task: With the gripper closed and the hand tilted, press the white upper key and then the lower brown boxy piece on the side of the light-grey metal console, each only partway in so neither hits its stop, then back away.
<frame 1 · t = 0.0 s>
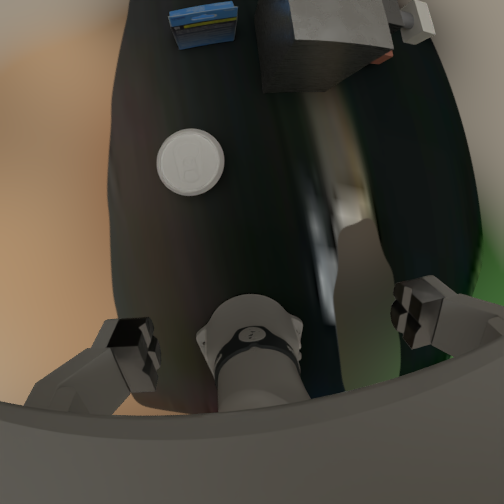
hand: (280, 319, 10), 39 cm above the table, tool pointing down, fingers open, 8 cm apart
label tape box: (205, 37, 39), on the table
console: (289, 52, 41), on the table
beverage can: (197, 163, 45), on the table
brown boxy piece: (367, 44, 36), point 6 cm above the table, slide at 0.0 cm
white key: (403, 19, 26), point 17 cm above the table, slide at 0.0 cm
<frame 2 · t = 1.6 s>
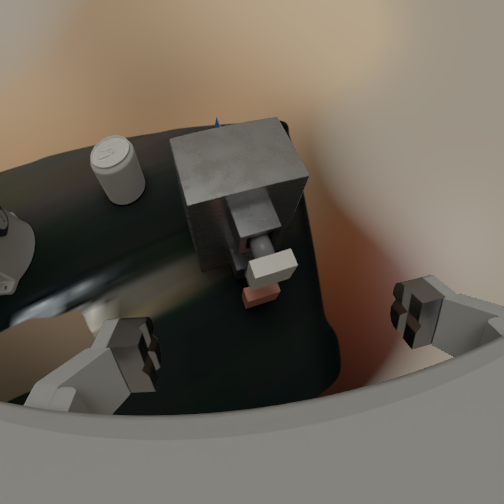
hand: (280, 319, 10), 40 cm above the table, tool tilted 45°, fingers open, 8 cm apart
console: (232, 235, 55), on the table
beverage can: (126, 189, 57), on the table
brown boxy piece: (256, 282, 46), point 6 cm above the table, slide at 0.0 cm
white key: (265, 256, 35), point 17 cm above the table, slide at 0.0 cm
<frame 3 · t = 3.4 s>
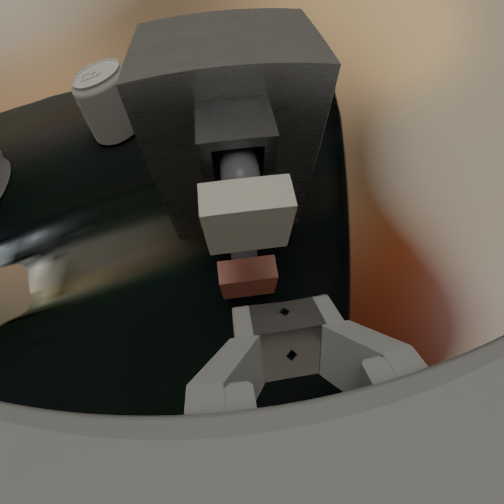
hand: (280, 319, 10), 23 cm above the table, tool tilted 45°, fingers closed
console: (234, 195, 38), on the table
beverage can: (119, 130, 43), on the table
brown boxy piece: (244, 259, 28), point 6 cm above the table, slide at 0.0 cm
white key: (242, 191, 18), point 17 cm above the table, slide at 0.0 cm
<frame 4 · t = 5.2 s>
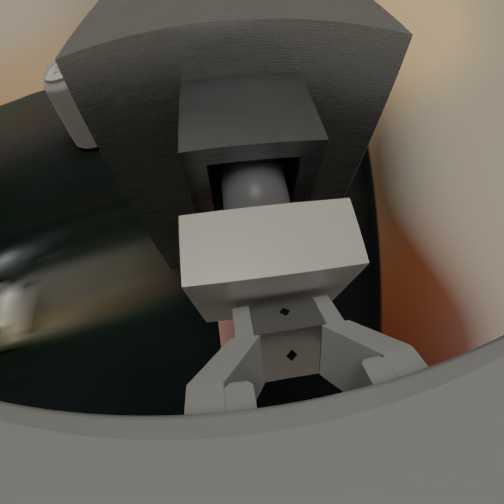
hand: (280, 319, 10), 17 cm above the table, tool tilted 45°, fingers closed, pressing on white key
console: (238, 212, 31), on the table
beverage can: (101, 130, 36), on the table
brown boxy piece: (255, 307, 21), point 6 cm above the table, slide at 0.0 cm
white key: (259, 222, 11), point 17 cm above the table, slide at 0.5 cm, touching gripper
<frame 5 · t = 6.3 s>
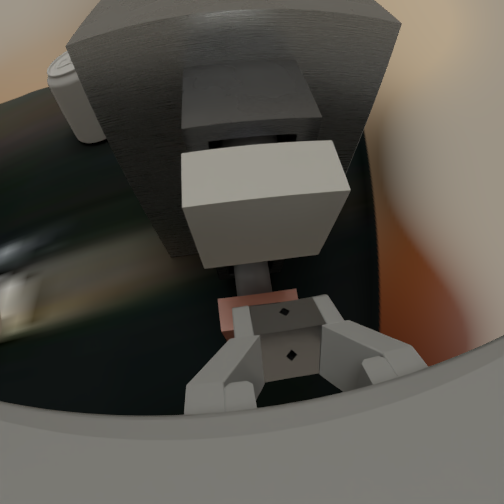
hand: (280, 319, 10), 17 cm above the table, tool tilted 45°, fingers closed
console: (238, 203, 31), on the table
beverage can: (103, 125, 36), on the table
brown boxy piece: (254, 292, 21), point 6 cm above the table, slide at 0.0 cm
white key: (253, 171, 12), point 17 cm above the table, slide at 1.7 cm
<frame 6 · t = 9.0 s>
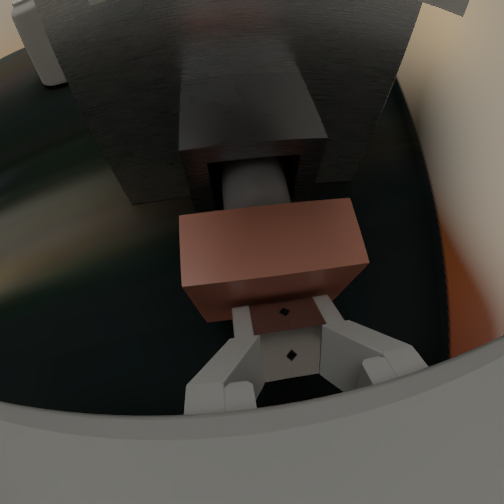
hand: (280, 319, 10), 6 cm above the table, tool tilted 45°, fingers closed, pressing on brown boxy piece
console: (235, 132, 20), on the table
beverage can: (74, 69, 26), on the table
brown boxy piece: (260, 222, 11), point 6 cm above the table, slide at 0.4 cm, touching gripper
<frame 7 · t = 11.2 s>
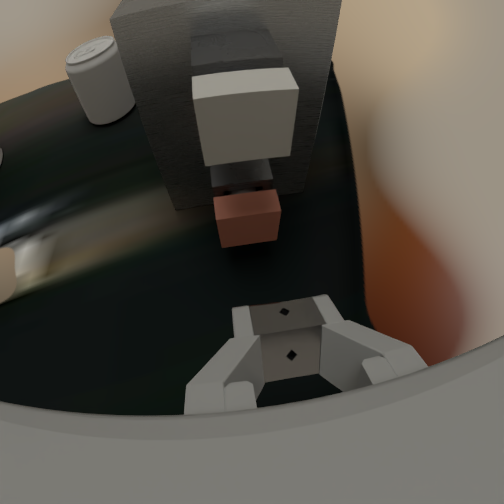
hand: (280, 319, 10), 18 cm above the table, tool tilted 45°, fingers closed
console: (233, 165, 35), on the table
beverage can: (113, 110, 41), on the table
brown boxy piece: (243, 201, 26), point 6 cm above the table, slide at 1.8 cm
white key: (239, 97, 16), point 17 cm above the table, slide at 1.7 cm
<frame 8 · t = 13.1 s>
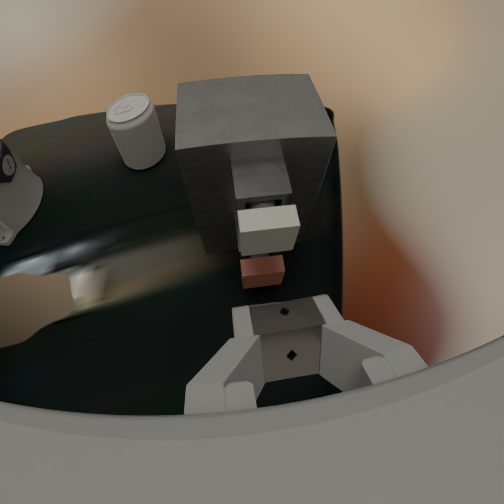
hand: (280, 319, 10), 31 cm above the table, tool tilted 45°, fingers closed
console: (249, 217, 47), on the table
beverage can: (145, 155, 52), on the table
brown boxy piece: (259, 258, 38), point 6 cm above the table, slide at 1.8 cm
white key: (263, 213, 28), point 17 cm above the table, slide at 1.7 cm
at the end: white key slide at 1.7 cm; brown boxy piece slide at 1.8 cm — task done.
